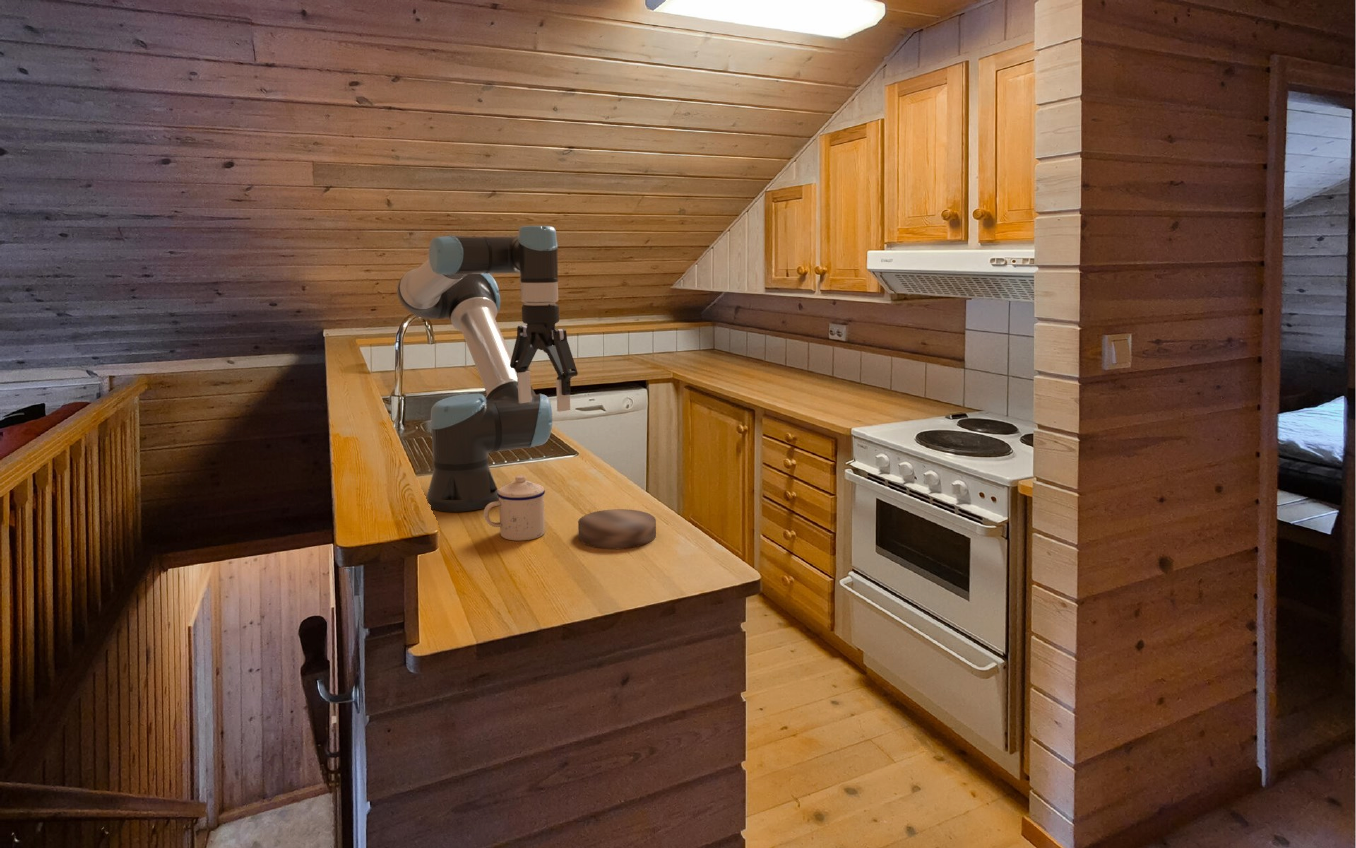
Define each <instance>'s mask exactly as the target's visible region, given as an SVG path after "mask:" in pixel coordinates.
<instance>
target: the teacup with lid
mask: <svg viewBox="0 0 1356 848" xmlns="http://www.w3.org/2000/svg"><path fill="white" fill-rule="evenodd" d="M545 493H546V490H545V488H544V486H543V485H541V484H539V483H534V482H532V481H530V480H527V477H526V476H525V475H517V476H515V480H514V481H511V482H510V483H508V484H506V485H503V486H501V487H500V488H499V489H498V493H497V495H498V501H495V502H491V503H489V504H488V505H487V506H486V507H485V508H483V516H484V520H485V521H486V522H487V524H489V526H492V527H495V528H499V530H500V531H499V533H500V536H501V537H502V538H503V539H505V540H509V541H514V542H515V541H518V542H522V541H530V540H535V539H538V538H541V537H543V535H544V534H545V532H546V524H545V523H546V519H545V515H546V513H545ZM497 506H498V509H499V511H498V512H499V522H493V521H492V520H491V519H490V517H489V512H490V510H491V509H492V508H494V507H497Z"/></svg>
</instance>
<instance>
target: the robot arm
mask: <svg viewBox="0 0 1356 848" xmlns="http://www.w3.org/2000/svg"><path fill="white" fill-rule="evenodd" d="M558 244H559V243H558V239H557V231H556V228H555V227H554V226H551V225H522V226H520V227H519V229H518V236H467V235H466V236H460V235H459V236H458V235H457V236H455V235H446V236H436V237H433V238H432V239H431V241H430V244H429V248H428V259H427V260H426V261H424V262H423V263H422V264H421V265H420V266H419V267H418V268H414V269H410V270H409V271H407V272H406V273H404V275H402V277H401V278H400V279H399V281H398V284H397V287H396V288H397V290H396V293H397V298H398V300H399V302H400V304H401V306H402V307H403V308H404V309H405V310H406V311H407V312H409V313H410V314H412V315H413V316H416V317H419V318H422V319H425V320H426V319H427V320H447V319H448V320H450V322H451V325H452V326H453V328H454V329H456V330H457V331H459V332H462V336H463V338H464V340H465V343H466V345H467V346H466V347H468V350H469V352H470V355H471V358H472V360H473V363H474V366H475V368H476V370H477V372H478V376H479V377H480V380H481V382H482V385H483V387H484V390H485V392H486V395H485V394H482V393H468V394H466V393H465V394H458V395H454V396H449V397H446V398H443V399H440V400H438V401H436V402H435V403H434V404H433V405H432V407H431V408H430V423H429V424H430V425H429V427H430V429H431V443H432V444H431V445H432V446H431V447H432V460H433V472H432V476H431V480H430V483H429V486H428V491H427V493H426V496H427V497H426V498H427V499H428V501H427V504H428V503H429V504H430V505H431V508H430V509H432V510H435V511H440V512H447V513H448V512H449V513H451V512H452V513H453V512H454V513H457V512H458V513H459V512H469V511H470V512H471V511H478V510H482V509H485V507H486V506H487V505H488V504H489V503H491V502H495V501H499V497H498V495H497V493H498V490H499V489H498V486H497V485H496V482H495V479H494V477H493V474H492V472H491V469H490V467H489V453H496V452H502V451H503V452H504V451H509V450H517V449H518V450H519V449H525V448H527V449H531V448H534V447H537V446H542V445H544V444H546V442H548V440H549V438H550V436H551V433H552V428H553V409H552V404H551V401H550V399H549V397H548V396H547V395H545V394H542V393H538V394H536V392H535V391H534V388H533V386H532V384H531V371H530V370H531V369H530V365H531V364H532V361H533V359H534V357H535V355H536V353H537V351H538V350H540V351H542V352H544V353H546V354H547V357H548V358H549V361H550V362H551V364H552V366H553V368H554V370H555V372H556V374H557V377H556V379H555V383H556V385H555V386H556V408H557V409H556V411H557V412H566V411H570V410H571V393H572V392H571V390H572V389H571V388H572V387H571V379H572V378H573V377H577V376H578V374H579V373H578V369H577V366H576V363H575V359H574V357H573V353H572V351H571V348H570V345H569V342H568V336H567V335H568V334H567V330H566V329H565V328H558V329H556V328H557V327H556V324H557V323H559V322H560V306H559V304H556V303H557V302H558V301H559V276H558V274H559V272H558V271H559V269H558V268H559V267H558V266H559V265H558V247H559V245H558ZM491 274H520V275H519V276H520V279H519V280H520V301H521V302H522V303H524V304H523V305H522V306H521V321H522V323H523V324H526V325H518V326H517V327H516V338H515V342H514V346H513V350H512V353H511V352H510V350H509V348H508V346H507V344H506V343H507V342H506V340H505V339H504V336H503V334H502V331H501V329H500V327H499V325H498V323H497V320H496V318H497V315H498V313H499V311H500V308H501V295H500V293H499V291H500V289H499V285H498V283H497V282H496V280H495V278H494V277H493V275H491Z"/></svg>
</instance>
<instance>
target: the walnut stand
mask: <svg viewBox="0 0 1356 848" xmlns="http://www.w3.org/2000/svg"><path fill="white" fill-rule="evenodd" d="M577 523H578V527H577V528H578V539H579V541H580V542H581V543H582V544H585V545H587V546H589V547H592V548H593V547H594V548H598V549H606V550H607V549H608V550H609V549H610V550H621V549H623V550H624V549H631V548H637V547H640V546H641V547H642V546H644V545H646V544H649V543H651V542H652V541H654V540H655V539H656V537H657V536H656V535H657V519H656V517H655V516H654V515H652V514H650V513H648V512H645V511H641V510H635V509H626V508H625V509H623V508H622V509H618V508H617V509H616V508H615V509H604V510H599V511H593V512H590V513H587V514H585V515H583V516H581V517H580V518H579V519H578V522H577Z"/></svg>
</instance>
